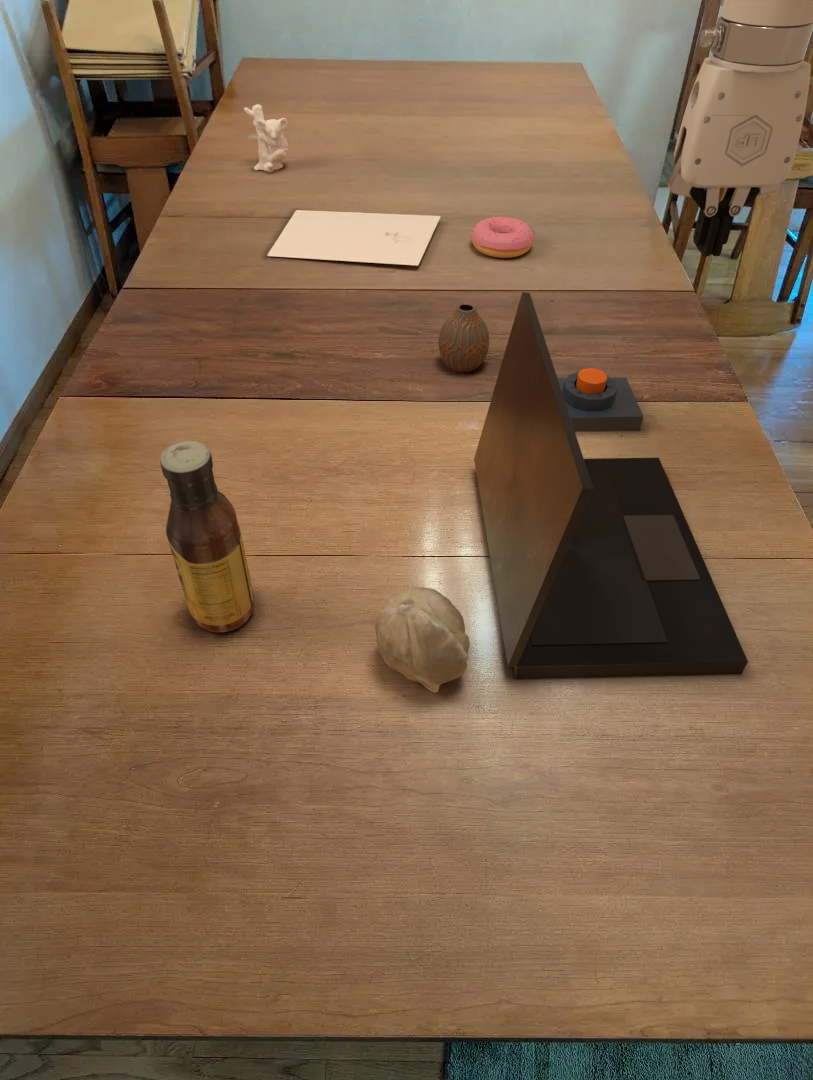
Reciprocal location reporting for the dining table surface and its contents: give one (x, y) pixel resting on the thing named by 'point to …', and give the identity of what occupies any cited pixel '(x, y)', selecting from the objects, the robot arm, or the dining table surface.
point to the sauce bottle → (205, 541)
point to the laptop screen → (528, 479)
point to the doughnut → (502, 237)
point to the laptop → (631, 589)
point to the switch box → (602, 406)
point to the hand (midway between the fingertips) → (707, 250)
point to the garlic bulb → (423, 637)
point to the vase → (464, 339)
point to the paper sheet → (356, 237)
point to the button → (591, 381)
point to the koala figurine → (269, 139)
